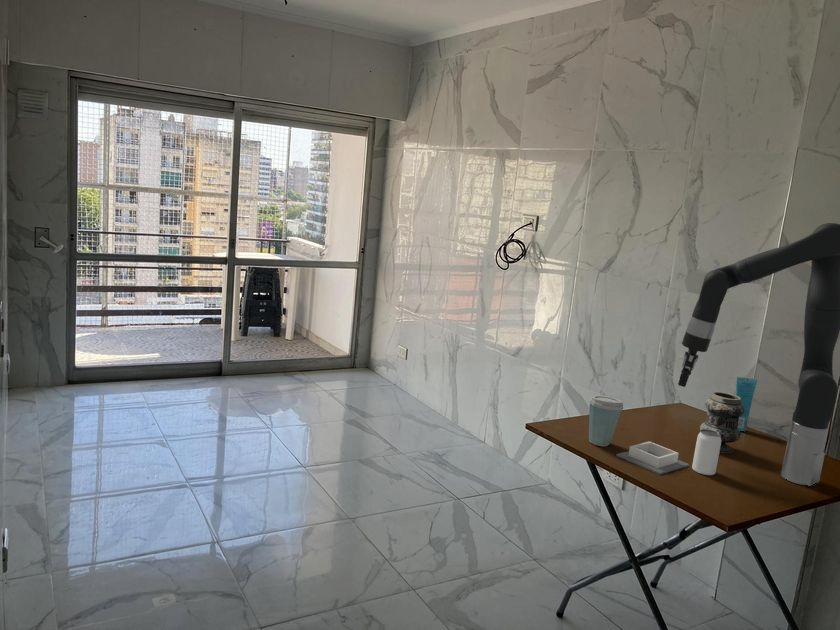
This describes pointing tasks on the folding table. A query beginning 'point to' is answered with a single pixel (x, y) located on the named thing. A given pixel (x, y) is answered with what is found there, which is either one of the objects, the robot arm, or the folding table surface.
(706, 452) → the can
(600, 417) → the disposable coffee cup
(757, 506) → the folding table surface
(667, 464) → the board
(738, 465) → the folding table surface
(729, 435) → the apothecary jar
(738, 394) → the tube
